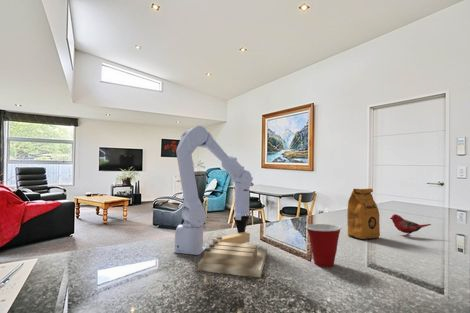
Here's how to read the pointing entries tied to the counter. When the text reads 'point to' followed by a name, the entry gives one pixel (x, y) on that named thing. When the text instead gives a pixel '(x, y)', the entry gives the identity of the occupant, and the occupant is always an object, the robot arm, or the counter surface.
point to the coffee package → (363, 215)
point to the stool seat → (233, 259)
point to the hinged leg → (234, 238)
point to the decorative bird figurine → (406, 225)
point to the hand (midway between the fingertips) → (241, 235)
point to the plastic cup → (324, 243)
